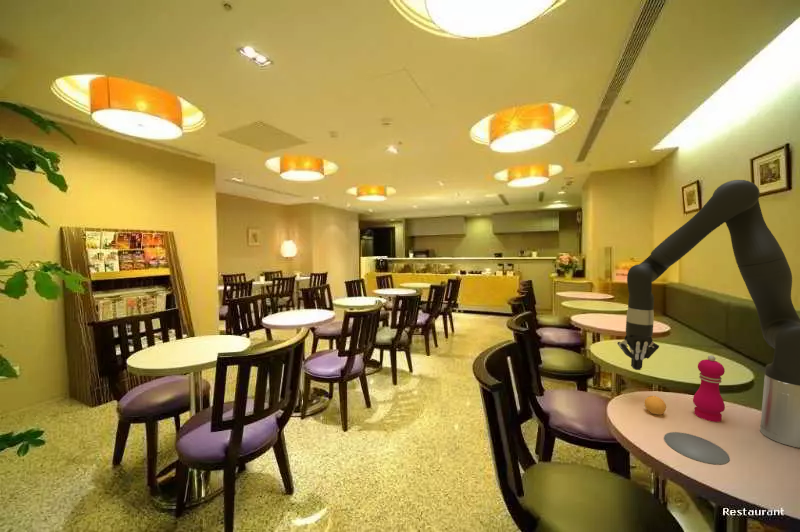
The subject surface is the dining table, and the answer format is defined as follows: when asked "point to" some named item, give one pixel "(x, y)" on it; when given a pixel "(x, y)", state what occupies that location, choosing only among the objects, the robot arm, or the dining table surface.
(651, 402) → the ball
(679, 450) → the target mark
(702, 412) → the pepper mill
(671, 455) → the dining table surface
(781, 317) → the robot arm
